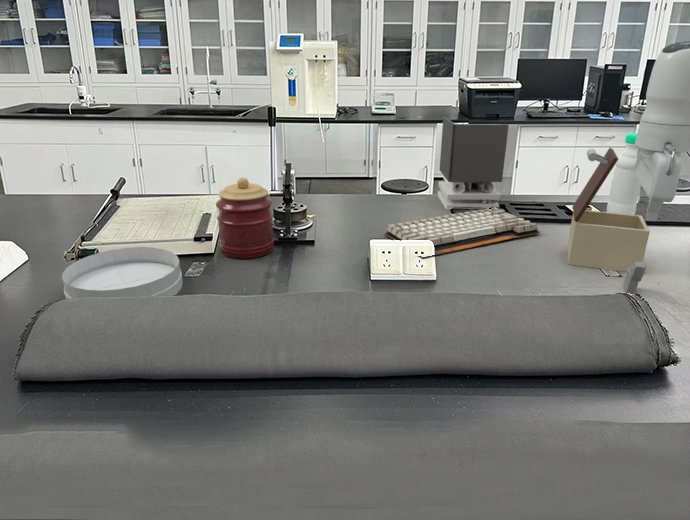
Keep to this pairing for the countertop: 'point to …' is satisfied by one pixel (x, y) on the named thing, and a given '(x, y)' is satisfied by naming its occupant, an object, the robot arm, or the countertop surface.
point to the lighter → (634, 277)
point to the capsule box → (607, 240)
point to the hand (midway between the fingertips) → (646, 212)
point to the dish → (124, 274)
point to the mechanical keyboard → (464, 229)
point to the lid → (594, 180)
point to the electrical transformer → (471, 164)
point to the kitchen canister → (245, 220)
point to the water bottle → (625, 180)
